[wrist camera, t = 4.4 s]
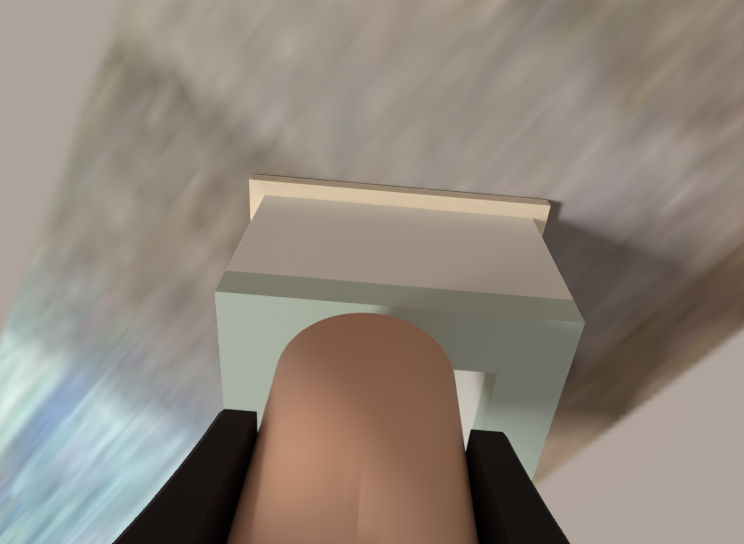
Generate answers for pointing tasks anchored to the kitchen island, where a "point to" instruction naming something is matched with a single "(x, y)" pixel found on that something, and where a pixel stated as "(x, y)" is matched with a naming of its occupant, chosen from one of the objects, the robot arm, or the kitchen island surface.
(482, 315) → the socket
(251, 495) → the peg
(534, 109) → the kitchen island surface
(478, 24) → the kitchen island surface
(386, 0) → the kitchen island surface
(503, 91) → the kitchen island surface
